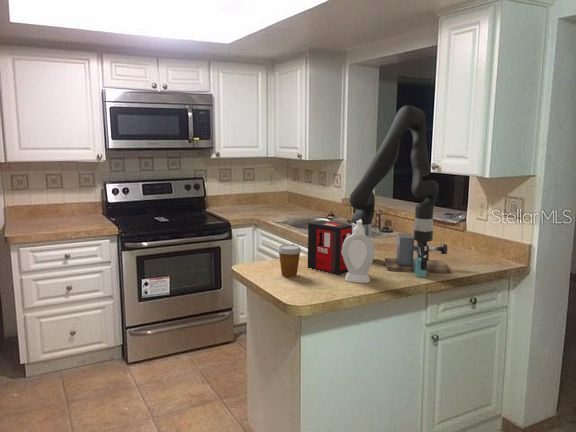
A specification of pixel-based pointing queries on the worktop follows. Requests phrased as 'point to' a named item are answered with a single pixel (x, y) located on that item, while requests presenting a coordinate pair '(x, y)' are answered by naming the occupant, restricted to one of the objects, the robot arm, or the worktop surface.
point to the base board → (432, 266)
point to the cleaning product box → (327, 246)
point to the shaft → (437, 248)
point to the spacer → (419, 268)
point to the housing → (405, 249)
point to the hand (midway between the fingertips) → (421, 267)
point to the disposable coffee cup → (289, 259)
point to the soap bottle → (358, 255)
